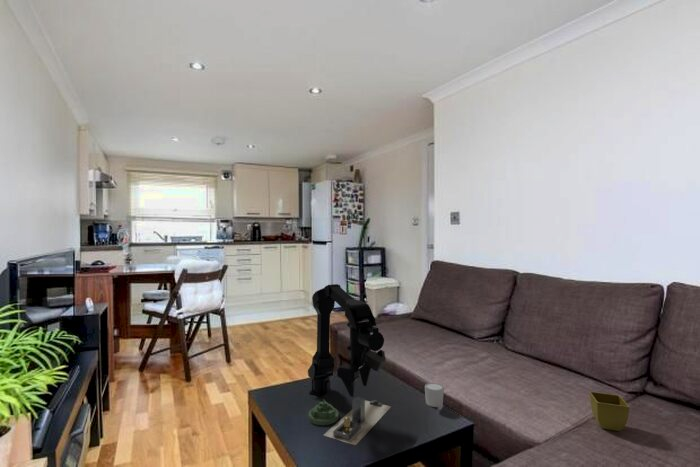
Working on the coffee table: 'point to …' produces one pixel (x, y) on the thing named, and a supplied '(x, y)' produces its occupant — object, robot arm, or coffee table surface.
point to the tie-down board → (372, 416)
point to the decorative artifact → (323, 414)
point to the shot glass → (434, 395)
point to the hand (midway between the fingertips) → (358, 390)
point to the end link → (353, 419)
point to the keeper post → (347, 425)
